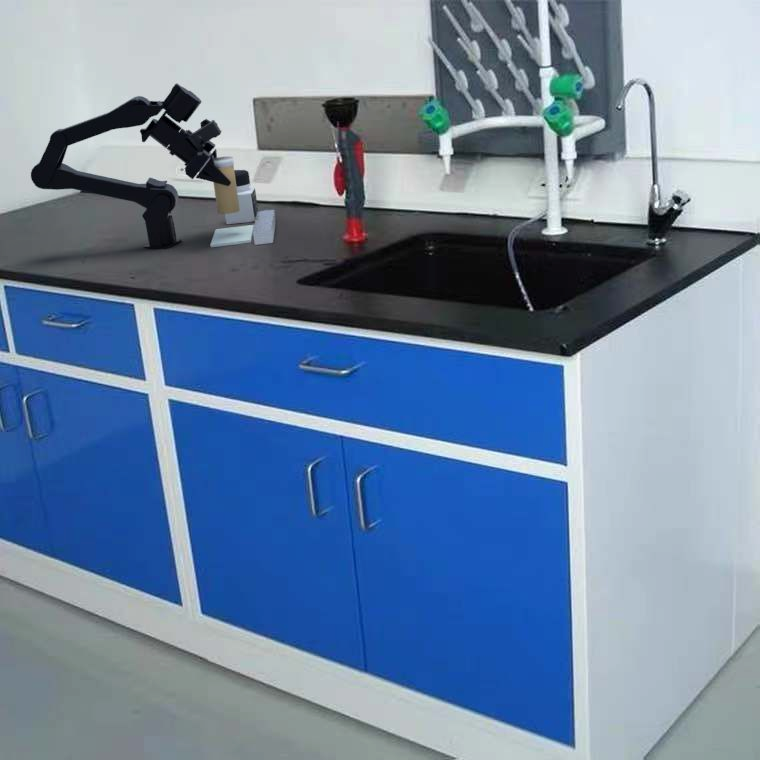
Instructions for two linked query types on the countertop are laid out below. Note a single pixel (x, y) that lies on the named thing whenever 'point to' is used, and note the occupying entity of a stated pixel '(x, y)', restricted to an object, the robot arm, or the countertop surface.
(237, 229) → the pad
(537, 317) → the countertop surface
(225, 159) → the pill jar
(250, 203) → the medicine bottle
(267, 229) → the grey rectangular bar
